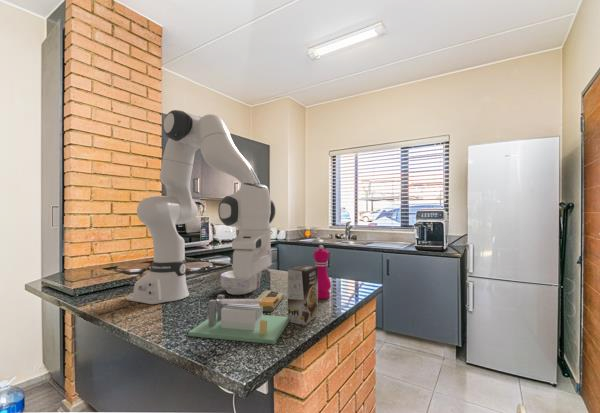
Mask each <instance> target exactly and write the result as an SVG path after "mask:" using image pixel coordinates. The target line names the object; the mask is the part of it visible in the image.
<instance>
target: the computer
mask: <svg viewBox="0 0 600 413" xmlns="http://www.w3.org/2000/svg"><path fill="white" fill-rule="evenodd" d="M265 297H278V299H279V301H278V302H277V303H276V304H275V305H274V306H263V312H269V313H270V312H272V313H273V312H274V310H276V308H277V307H278V305H279V304H280V303H281V301H282V300H283V299H284V297H285V295H284V293H283V292H281V291H274V290H270V289H269V290H264V291H262V292H261V293H260V294H259V295H258V296H257V297H256V298H255V299H263V298H265Z"/></svg>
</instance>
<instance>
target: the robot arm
mask: <svg viewBox="0 0 600 413" xmlns="http://www.w3.org/2000/svg"><path fill="white" fill-rule="evenodd" d="M162 124H163V125H162V126H163V127H162V129H163V133H164V135H165V136H166V137H167V138H168V139H167V142H166V145H165V148H164V150H163V155H162V162H161V165H160V166H161V167H160V172H159V180H160V182H161V184H163V185H164V187H165V190H166V191H165V192H166V196H161V195H156V196H149V197H144V198H143V199H141V200H140V201H139V202H138V204H137V207H136V215H137V218H138V220H139V221H140V222H141V223H142V224H143V225H145V227H146V228H147V229H148V231H149V233H150V236H151V238H152V244H153V245H152V246H153V261H152V262H150V263H147V264H146V265H147V266H146V267H148V268H149V271H148V272H146V273H145V274H144V275H143V276H141V277H140V278H139V279H138V280H136V282H135V283H134V287H133V292H132V293H130V294H128V295H127V296H126V301H129V302H130V301H131V302H137V303H138V302H139V303H144V304H149V305H157V304H161V303H169V302H176V301H180V300H182V299H184V298H188V297H189V296H190V293H189V292H190V291H189V289H188V285H187V284H188V283H187V280H186V279H187V278H186V273H187V260H186V259H185V258H186V256H185V255H186V254H185V253H186V250H185V247H186V246H185V245H186V244H185V243H186V242H185V239H184V237H183V236H181V235H180V234H179V232H178V230H177V227H176V225H184V224H187V223H190V222H192V221H194V220H195V219H196V218H197V217H198V213H199V212H198V206H197V203H196V202H195V201H194V199H193V196H192V190H191V181H192V174H193V167H194V162H195V155H196V153H197V151H198V150H200V152H201V155H202V157H203V160H204V162H205V163H206V164H207V165H208V166H209V167H211V168H212V169H214V170H216V171H220V172H222V173H225V174H227V175H229V176H232V177H233V178H235V179H236V180H238V181H239V182H240V184H241V185H240V187H239V189H238V190H237V191H236V192H234V193H231V194H230V195H226V196H224V197H223V198H222V199H221V201H220V202H219V204H218V217H219V220H220V221H221V222H222V224H224V225H225V226H226V227H227V226H228V227H232V228H234V227H239V230H238V231H239V232H238V234H237V235H236V237H235V238H234V239H233V240H232V242H231V249H232V250H233V253H232V269H233V270H232V271H233V273H234V276H235V278H236V279H239V280H249V282H250V289H251V290H252V291H255V290H257V289H258V288H260V285H261V283H260V281H261V278H262V271H264V270H266V269H267V268H269V267H271V265H272V247H271V243H272V242H271V240H272V238H271V237H272V236H271V234H272V233H271V230H272V229H271V228H272V227H271V224H272V222H273V220H274V218H275V216H276V207H275V206H276V205H275V203H274V201H273V200H272V199H271V195H270V190H269V187H268V186H267V185H265V184H263V183H261V181H260V179H259V178H258V175H257V174H256V171H255V170H254V168H253V167H252V165H251V164H250V162H249V160H248V159H247V158H246V157H244V156H243V155H242V153H241V152H240V151H239V149H238V147H237V146H236V145H235V143H234V141H233V138H232V135H231V132H230V130H229V128H228V127H227V125H226V124H225V122H224V121H223V119H222V118H221V117H220V116H218V115H217V114H205V115H203V116H200V115H195V114H192V113H189V112H185V111H183V110H177V109H173V110H170V111H169V112H168V113H167V114H166V115H165V117H164V119H163V123H162Z"/></svg>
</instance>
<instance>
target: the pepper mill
mask: <svg viewBox="0 0 600 413" xmlns="http://www.w3.org/2000/svg"><path fill="white" fill-rule="evenodd" d="M329 258H330V254H329V251H328V250H327V249H325V248H324V245H322V244H320V245H318V248H317V249H316V250H315V251H314V252H313V259H314V260H315V261H314V263H315V264H314V266H318V300H319V299H320V300H326V299H329V298H330V297H331V296H330V294H331V293H330V291H329V290H331V287H332V283H331V280H330V277H329V275H328V271H327V270H328V265H329V264H328V263H329V261H328V260H329Z"/></svg>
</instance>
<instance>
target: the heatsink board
mask: <svg viewBox="0 0 600 413" xmlns="http://www.w3.org/2000/svg"><path fill="white" fill-rule="evenodd" d="M216 296H217V298H221V299H226V298H225V297H226V296H225V294H218V295H216ZM217 298H216V299H217ZM216 299H209V300H208V317H207V318H206V319H205V320H204V321H202V322H201V323H199V324H198V325H197V326H195V327H194V328H192V329H190V330H189V331H188V334H187V335H188V336H189V337H197V338H208V339H215V340H217V339H218V340H226V341H227V340H229V341H238V342H247V343H249V342H250V343H259V344H268V345H275V344H276V343H277V341H278V340H279V338H280V336H281V335H282V334H283V332H284V330H285V329H286V327H288V326H287V325H288V324H289V323H290V322H289V318H288V316H279V315H269V314H268V315H267V314H264V313H263V312H264V311H263V306H259V304H216Z"/></svg>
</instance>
